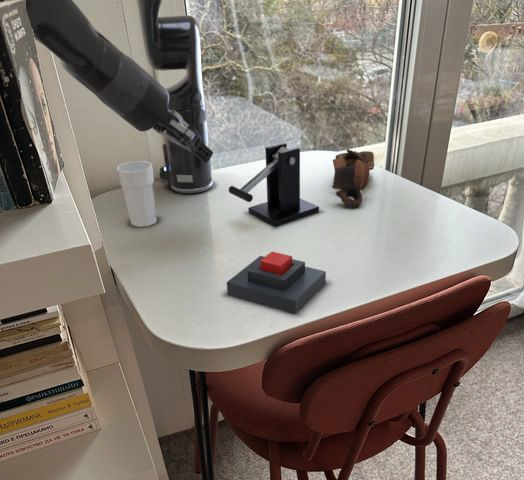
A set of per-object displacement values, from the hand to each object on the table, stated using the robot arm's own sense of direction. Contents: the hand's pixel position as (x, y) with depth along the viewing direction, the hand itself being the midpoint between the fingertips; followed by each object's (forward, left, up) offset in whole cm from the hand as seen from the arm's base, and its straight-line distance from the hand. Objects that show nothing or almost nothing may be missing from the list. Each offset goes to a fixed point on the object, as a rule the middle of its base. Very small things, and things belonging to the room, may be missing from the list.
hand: (208, 157), depth 95 cm
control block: (+20, -12, -14) cm, 28 cm away
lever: (+5, +11, -7) cm, 14 cm away
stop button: (+20, -12, -11) cm, 26 cm away
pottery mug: (+12, +25, -10) cm, 29 cm away
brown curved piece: (+8, +35, -10) cm, 38 cm away
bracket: (+6, +15, -14) cm, 22 cm away
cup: (-17, -1, -15) cm, 22 cm away
